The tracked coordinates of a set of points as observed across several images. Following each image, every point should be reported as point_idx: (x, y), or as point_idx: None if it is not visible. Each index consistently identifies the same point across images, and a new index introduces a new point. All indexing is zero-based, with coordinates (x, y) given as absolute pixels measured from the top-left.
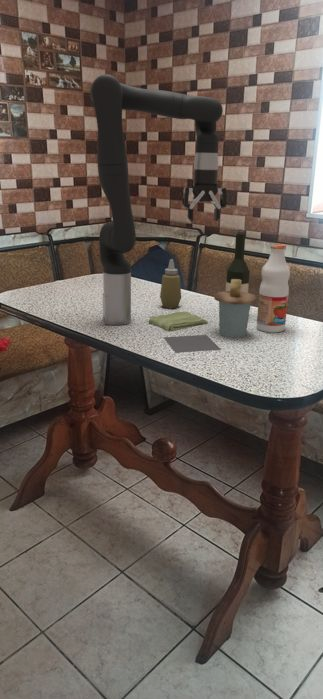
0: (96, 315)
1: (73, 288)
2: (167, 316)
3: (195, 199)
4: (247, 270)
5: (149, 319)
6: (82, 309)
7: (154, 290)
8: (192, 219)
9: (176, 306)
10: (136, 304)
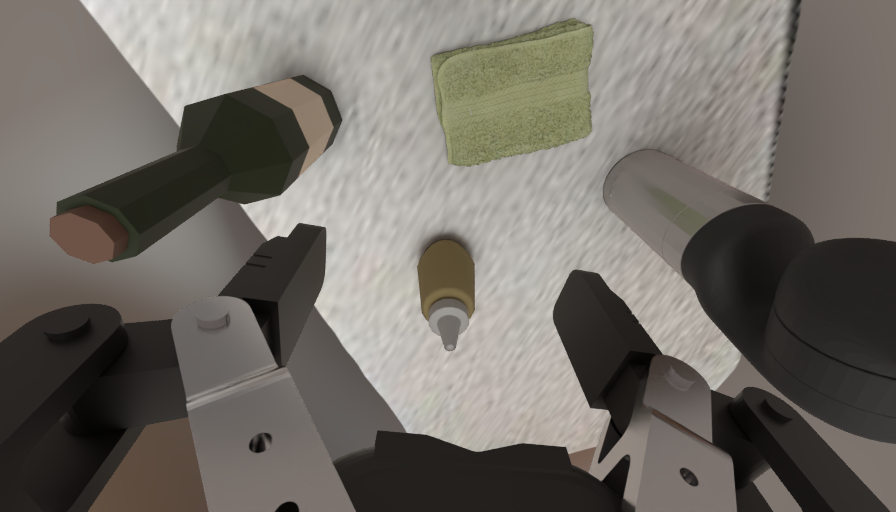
0: (645, 247)
1: (563, 418)
2: (538, 125)
3: (730, 480)
4: (194, 106)
5: (590, 130)
6: (640, 296)
7: (416, 374)
8: (585, 274)
9: (437, 242)
10: (511, 295)
